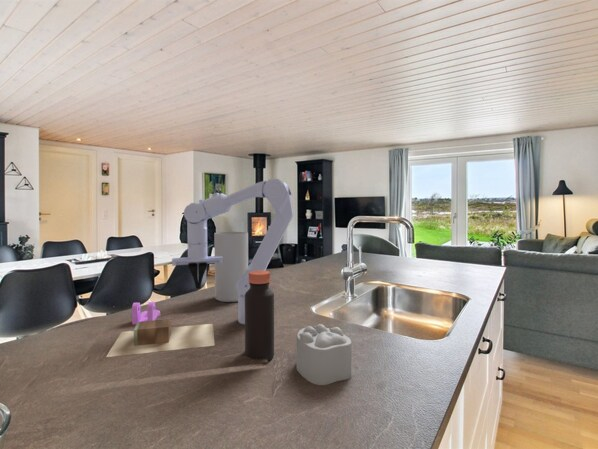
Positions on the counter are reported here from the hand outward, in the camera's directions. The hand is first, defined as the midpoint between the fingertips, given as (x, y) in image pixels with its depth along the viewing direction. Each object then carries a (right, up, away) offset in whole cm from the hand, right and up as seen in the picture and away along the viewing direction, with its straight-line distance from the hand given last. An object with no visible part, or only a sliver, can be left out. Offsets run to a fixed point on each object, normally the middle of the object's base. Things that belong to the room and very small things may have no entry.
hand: (198, 287), depth 103 cm
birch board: (-4, -11, -15) cm, 19 cm away
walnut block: (-3, -8, -15) cm, 17 cm away
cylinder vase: (+5, -9, +27) cm, 29 cm away
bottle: (+21, -12, -23) cm, 34 cm away
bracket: (-16, -11, +2) cm, 19 cm away
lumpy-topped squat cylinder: (+35, -12, -29) cm, 47 cm away
